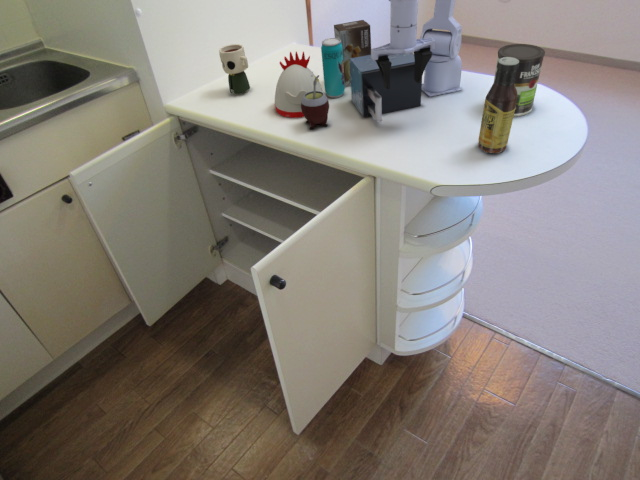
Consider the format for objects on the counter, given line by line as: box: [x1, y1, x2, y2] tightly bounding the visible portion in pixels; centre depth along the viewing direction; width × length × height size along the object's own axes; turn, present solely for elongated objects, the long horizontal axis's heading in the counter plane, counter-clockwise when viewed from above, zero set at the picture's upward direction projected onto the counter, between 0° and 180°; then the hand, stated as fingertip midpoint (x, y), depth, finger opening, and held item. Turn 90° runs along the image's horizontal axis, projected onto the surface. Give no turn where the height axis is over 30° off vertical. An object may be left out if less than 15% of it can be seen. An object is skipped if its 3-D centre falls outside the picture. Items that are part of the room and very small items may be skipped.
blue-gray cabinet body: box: [350, 52, 415, 117], centre depth 123 cm, size 10×16×12 cm, turn 103°
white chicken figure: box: [274, 51, 324, 119], centre depth 125 cm, size 14×14×15 cm
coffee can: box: [493, 43, 546, 117], centre depth 113 cm, size 10×10×14 cm
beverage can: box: [320, 37, 346, 99], centre depth 129 cm, size 6×6×15 cm
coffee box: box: [333, 19, 372, 88], centre depth 134 cm, size 9×6×16 cm
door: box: [361, 63, 423, 123], centre depth 116 cm, size 8×16×12 cm, turn 103°
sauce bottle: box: [478, 57, 519, 154], centre depth 98 cm, size 6×6×20 cm
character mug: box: [218, 43, 251, 95], centre depth 137 cm, size 11×7×13 cm, turn 53°
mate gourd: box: [301, 74, 330, 131], centre depth 116 cm, size 8×8×15 cm
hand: (402, 84), depth 110 cm, fingers open, 7 cm apart
